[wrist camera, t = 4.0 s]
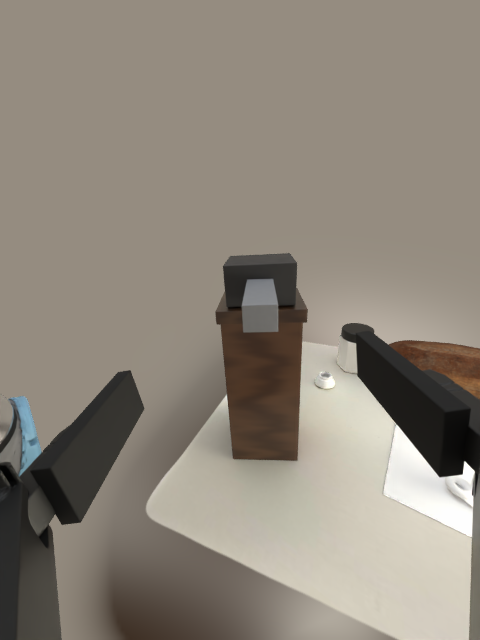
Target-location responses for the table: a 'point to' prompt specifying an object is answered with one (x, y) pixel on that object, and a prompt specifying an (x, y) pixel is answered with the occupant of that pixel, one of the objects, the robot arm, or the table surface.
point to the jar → (349, 346)
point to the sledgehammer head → (260, 288)
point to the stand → (263, 382)
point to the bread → (445, 361)
